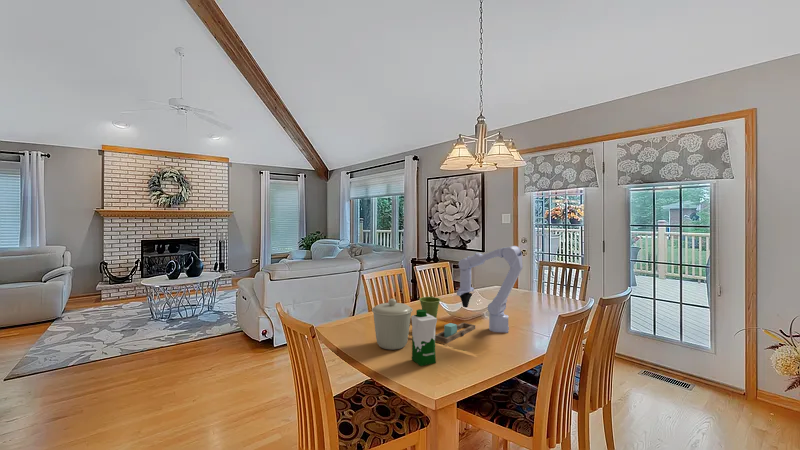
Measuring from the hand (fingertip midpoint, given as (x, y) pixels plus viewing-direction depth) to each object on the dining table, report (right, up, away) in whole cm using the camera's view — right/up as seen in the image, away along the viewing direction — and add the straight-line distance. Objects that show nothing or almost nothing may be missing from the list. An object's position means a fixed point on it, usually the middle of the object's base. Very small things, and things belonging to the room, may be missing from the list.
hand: (465, 306), depth 191 cm
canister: (-38, -11, -29) cm, 49 cm away
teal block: (-10, -10, -20) cm, 24 cm away
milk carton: (-25, -12, -46) cm, 53 cm away
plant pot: (-18, -10, +11) cm, 23 cm away
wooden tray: (-8, -11, -16) cm, 21 cm away
